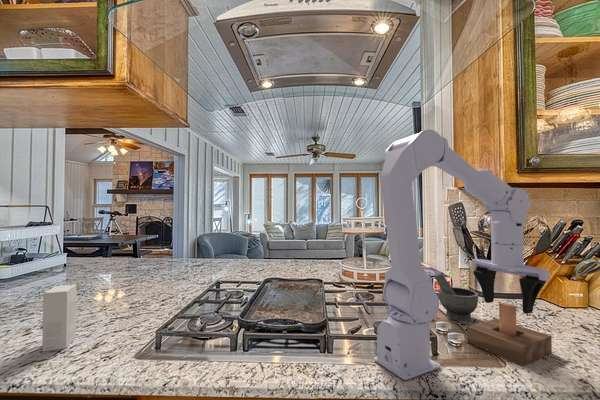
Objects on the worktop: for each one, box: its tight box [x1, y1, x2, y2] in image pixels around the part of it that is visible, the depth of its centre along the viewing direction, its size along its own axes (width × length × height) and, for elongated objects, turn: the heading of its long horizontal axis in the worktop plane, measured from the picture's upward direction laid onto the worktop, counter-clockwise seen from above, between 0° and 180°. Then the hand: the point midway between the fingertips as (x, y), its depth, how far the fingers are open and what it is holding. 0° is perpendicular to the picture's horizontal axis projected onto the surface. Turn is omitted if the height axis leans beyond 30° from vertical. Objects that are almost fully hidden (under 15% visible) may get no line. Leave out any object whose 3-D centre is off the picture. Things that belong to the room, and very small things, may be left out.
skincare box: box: [41, 284, 78, 353], centre depth 65 cm, size 6×4×12 cm
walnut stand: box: [466, 318, 553, 367], centre depth 64 cm, size 11×11×4 cm
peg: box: [498, 302, 517, 337], centre depth 64 cm, size 3×3×9 cm
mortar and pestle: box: [433, 271, 479, 322], centre depth 83 cm, size 11×9×12 cm
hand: (507, 307), depth 64 cm, fingers open, 7 cm apart
